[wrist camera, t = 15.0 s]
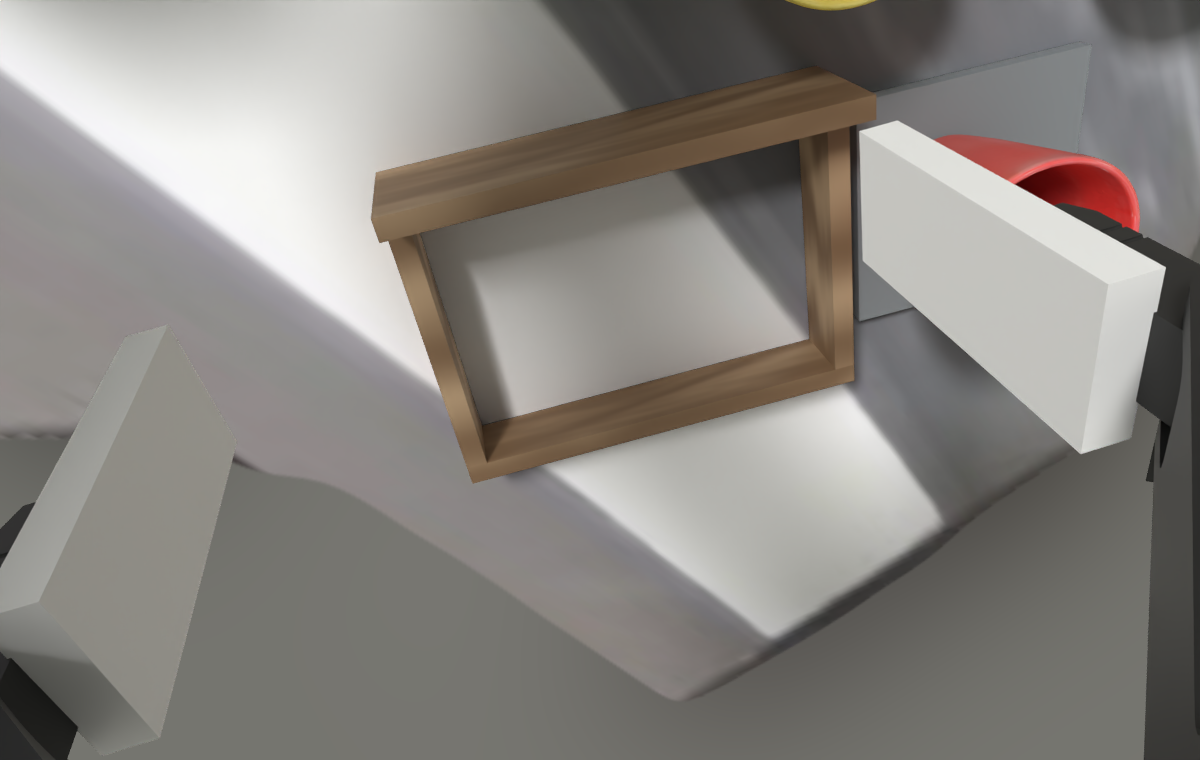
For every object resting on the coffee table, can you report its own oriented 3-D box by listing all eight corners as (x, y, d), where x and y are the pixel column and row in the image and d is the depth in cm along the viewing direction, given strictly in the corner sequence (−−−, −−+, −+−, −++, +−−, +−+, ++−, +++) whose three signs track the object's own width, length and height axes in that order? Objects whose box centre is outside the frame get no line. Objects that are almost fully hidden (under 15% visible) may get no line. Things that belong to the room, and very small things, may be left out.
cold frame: (375, 172, 44) (370, 218, 38) (816, 65, 46) (876, 94, 40) (468, 445, 54) (475, 515, 48) (827, 349, 56) (876, 406, 50)
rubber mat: (848, 98, 47) (856, 102, 46) (1079, 41, 48) (1092, 44, 47) (852, 314, 55) (859, 321, 54) (1052, 261, 55) (1062, 267, 55)
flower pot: (1018, 253, 53) (1128, 322, 45) (856, 300, 53) (938, 379, 45) (1030, 86, 48) (1158, 130, 39) (848, 137, 47) (940, 193, 39)
